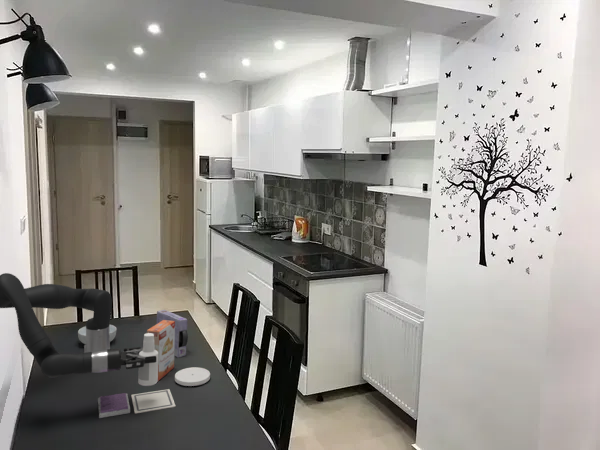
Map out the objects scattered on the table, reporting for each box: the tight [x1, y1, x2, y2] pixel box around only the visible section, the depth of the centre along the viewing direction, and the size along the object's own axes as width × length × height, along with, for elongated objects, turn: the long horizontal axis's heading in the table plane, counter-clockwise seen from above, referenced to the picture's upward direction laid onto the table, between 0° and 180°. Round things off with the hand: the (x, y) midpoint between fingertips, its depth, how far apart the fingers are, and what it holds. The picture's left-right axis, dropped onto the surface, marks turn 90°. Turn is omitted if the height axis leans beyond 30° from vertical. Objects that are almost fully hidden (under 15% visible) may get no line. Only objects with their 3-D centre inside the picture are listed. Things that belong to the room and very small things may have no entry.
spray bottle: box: [137, 332, 159, 387], centre depth 175 cm, size 7×7×18 cm
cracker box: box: [146, 320, 175, 382], centre depth 200 cm, size 14×6×21 cm, turn 168°
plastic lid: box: [174, 366, 211, 387], centre depth 197 cm, size 14×14×2 cm
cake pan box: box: [156, 309, 189, 359], centre depth 224 cm, size 19×5×18 cm, turn 50°
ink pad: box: [97, 392, 131, 419], centre depth 173 cm, size 10×12×2 cm
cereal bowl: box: [77, 324, 118, 345], centre depth 231 cm, size 17×17×7 cm
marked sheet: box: [131, 388, 176, 414], centre depth 178 cm, size 14×14×1 cm
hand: (154, 355), depth 176 cm, fingers closed on spray bottle, 7 cm apart
